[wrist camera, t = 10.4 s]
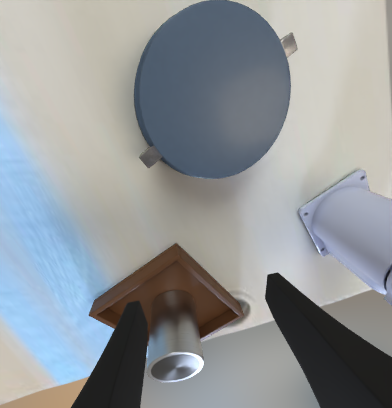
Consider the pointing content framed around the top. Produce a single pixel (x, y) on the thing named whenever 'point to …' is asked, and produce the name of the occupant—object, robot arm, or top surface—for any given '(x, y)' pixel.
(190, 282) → the tray
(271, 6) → the top surface
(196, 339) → the cup
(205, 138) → the lidded cooking pot
